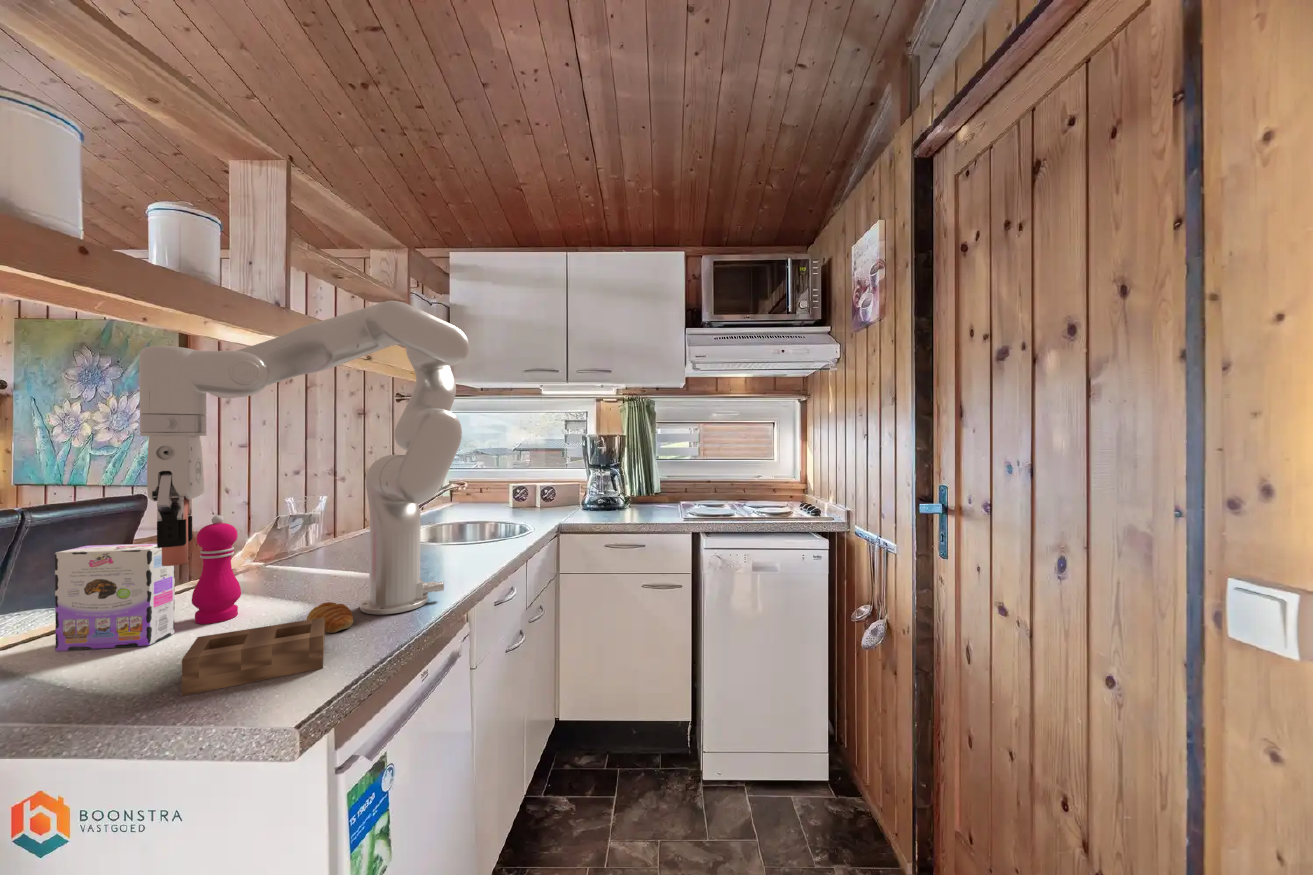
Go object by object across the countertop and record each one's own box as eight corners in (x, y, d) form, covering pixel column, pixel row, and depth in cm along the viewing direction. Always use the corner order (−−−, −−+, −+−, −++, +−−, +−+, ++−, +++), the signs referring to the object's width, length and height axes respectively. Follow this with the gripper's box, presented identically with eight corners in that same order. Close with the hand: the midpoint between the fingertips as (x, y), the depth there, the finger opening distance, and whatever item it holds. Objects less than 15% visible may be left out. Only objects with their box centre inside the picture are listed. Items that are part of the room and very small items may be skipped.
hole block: (324, 647, 84) (324, 617, 84) (322, 668, 77) (323, 635, 77) (197, 669, 76) (197, 636, 76) (181, 696, 68) (182, 659, 68)
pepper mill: (250, 612, 100) (251, 512, 100) (215, 626, 93) (216, 518, 93) (217, 611, 101) (218, 512, 101) (180, 624, 94) (181, 517, 94)
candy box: (176, 633, 90) (177, 541, 90) (148, 647, 84) (149, 548, 84) (86, 637, 87) (87, 543, 88) (51, 652, 82) (52, 551, 82)
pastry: (363, 627, 94) (363, 607, 94) (323, 639, 88) (323, 617, 88) (341, 616, 99) (341, 597, 99) (301, 627, 94) (301, 606, 94)
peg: (190, 560, 81) (189, 498, 81) (185, 564, 78) (185, 500, 78) (164, 562, 79) (164, 499, 79) (159, 567, 76) (158, 501, 76)
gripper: (193, 426, 73) (194, 551, 74) (216, 427, 87) (217, 532, 87) (121, 426, 69) (122, 558, 70) (157, 427, 83) (158, 537, 83)
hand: (175, 542), depth 79 cm, fingers closed on peg, 3 cm apart
